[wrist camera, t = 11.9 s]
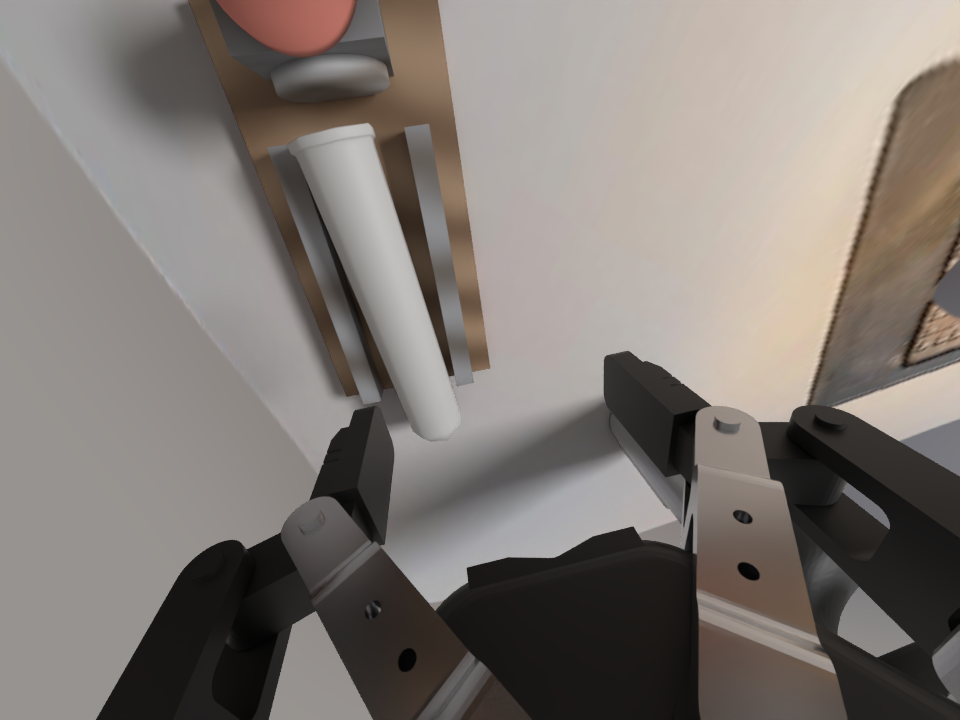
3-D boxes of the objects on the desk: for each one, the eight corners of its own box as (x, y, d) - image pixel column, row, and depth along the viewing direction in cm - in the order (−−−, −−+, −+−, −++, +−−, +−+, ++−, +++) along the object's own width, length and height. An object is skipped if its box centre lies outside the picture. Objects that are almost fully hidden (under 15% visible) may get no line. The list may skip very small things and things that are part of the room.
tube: (477, 435, 32) (382, 117, 20) (425, 463, 30) (285, 136, 18) (455, 407, 36) (365, 134, 24) (408, 431, 35) (286, 150, 22)
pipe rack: (488, 362, 34) (509, 422, 26) (349, 389, 34) (324, 461, 25) (429, -42, 21) (435, -194, 12) (191, -15, 20) (18, -159, 11)
